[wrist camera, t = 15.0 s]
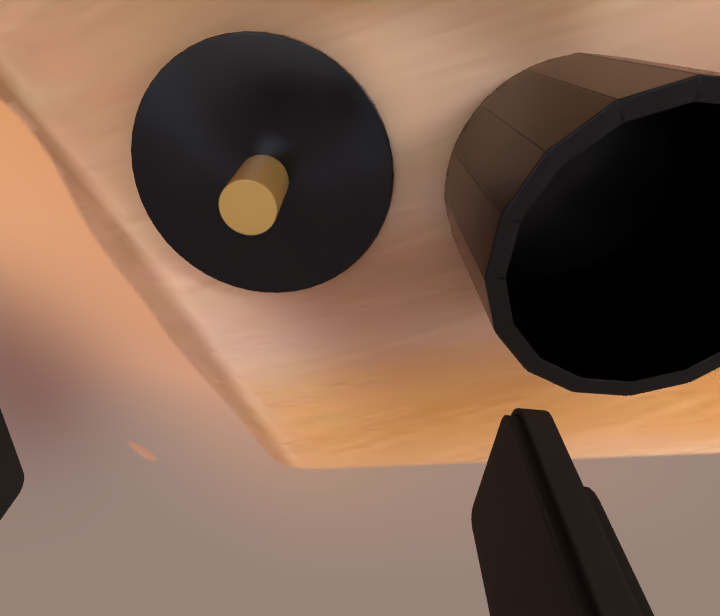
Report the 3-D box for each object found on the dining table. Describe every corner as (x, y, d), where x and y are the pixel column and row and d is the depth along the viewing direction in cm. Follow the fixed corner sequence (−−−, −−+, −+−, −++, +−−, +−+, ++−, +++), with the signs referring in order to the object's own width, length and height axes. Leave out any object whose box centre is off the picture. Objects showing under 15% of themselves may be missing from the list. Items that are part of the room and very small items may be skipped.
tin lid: (121, 15, 23) (59, 15, 18) (409, 46, 24) (422, 54, 19) (154, 274, 30) (115, 324, 25) (377, 292, 31) (381, 344, 26)
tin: (470, 40, 24) (540, 56, 15) (721, 68, 25) (933, 99, 16) (427, 274, 30) (458, 384, 21) (627, 290, 31) (739, 404, 22)
